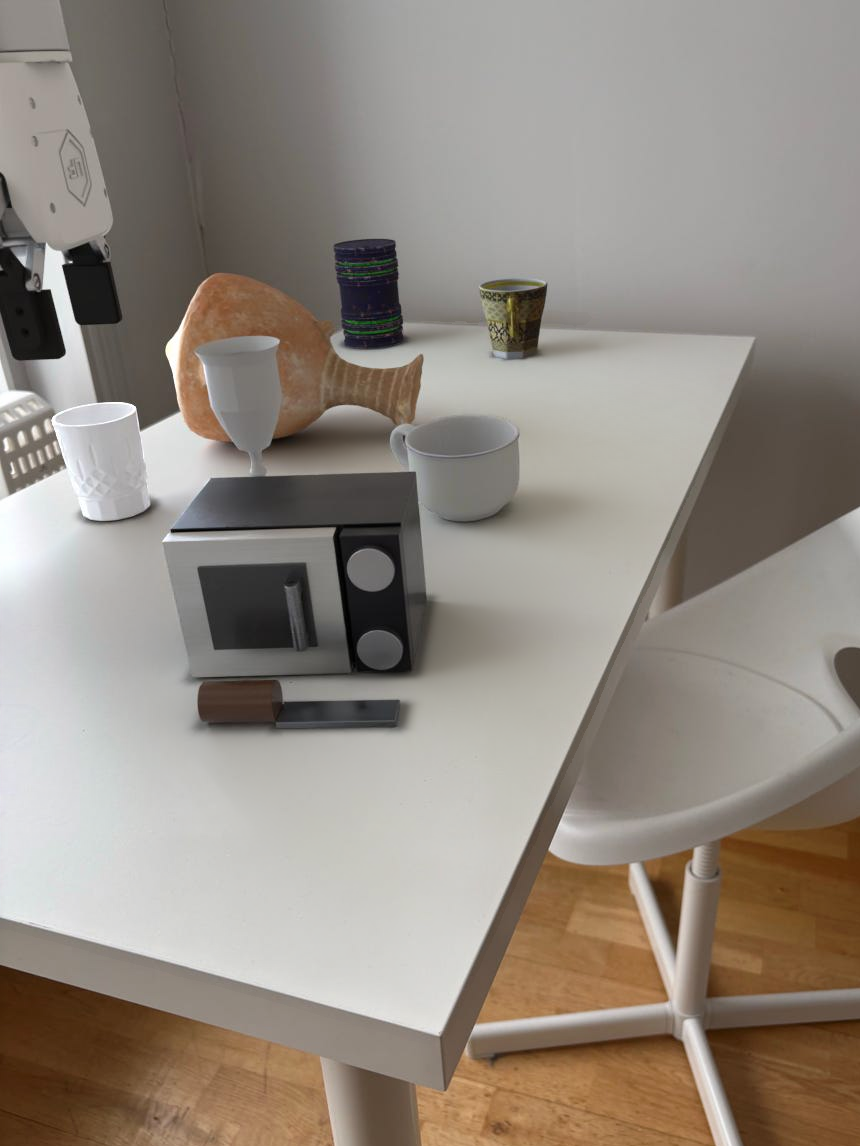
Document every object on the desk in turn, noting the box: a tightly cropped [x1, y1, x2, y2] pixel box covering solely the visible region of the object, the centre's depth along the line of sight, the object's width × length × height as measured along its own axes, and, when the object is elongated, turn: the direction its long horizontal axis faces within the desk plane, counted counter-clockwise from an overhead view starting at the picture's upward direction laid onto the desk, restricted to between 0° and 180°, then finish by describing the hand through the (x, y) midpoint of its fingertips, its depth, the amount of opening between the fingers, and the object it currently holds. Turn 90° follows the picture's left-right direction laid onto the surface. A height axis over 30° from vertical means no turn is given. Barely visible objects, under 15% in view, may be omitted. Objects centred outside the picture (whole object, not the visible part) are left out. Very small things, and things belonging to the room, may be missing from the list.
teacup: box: [389, 413, 521, 523], centre depth 98 cm, size 14×11×8 cm
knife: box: [196, 679, 401, 730], centre depth 67 cm, size 13×3×3 cm, turn 87°
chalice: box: [194, 336, 282, 477], centre depth 90 cm, size 7×7×18 cm
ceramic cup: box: [478, 277, 548, 360], centre depth 148 cm, size 13×10×10 cm
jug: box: [165, 272, 425, 443], centre depth 118 cm, size 20×19×30 cm
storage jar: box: [333, 238, 405, 350], centre depth 160 cm, size 10×10×15 cm
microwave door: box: [162, 527, 355, 678], centre depth 70 cm, size 3×12×11 cm, turn 88°
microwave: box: [169, 471, 428, 673], centre depth 75 cm, size 12×16×11 cm
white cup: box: [51, 401, 151, 522], centre depth 101 cm, size 8×8×10 cm
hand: (72, 339), depth 66 cm, fingers open, 9 cm apart
